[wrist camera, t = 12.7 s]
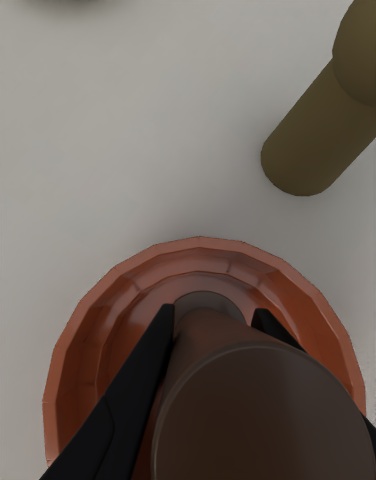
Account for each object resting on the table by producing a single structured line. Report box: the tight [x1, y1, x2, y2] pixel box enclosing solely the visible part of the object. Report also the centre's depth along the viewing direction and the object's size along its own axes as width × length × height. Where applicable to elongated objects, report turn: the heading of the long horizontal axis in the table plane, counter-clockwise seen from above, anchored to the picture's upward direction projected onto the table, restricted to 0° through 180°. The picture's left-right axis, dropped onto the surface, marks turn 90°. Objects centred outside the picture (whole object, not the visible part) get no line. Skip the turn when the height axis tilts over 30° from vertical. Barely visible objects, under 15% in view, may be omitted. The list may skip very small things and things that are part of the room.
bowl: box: [42, 236, 366, 468], centre depth 13 cm, size 14×14×5 cm
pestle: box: [150, 291, 376, 480], centre depth 9 cm, size 4×4×12 cm
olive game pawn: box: [261, 0, 376, 196], centre depth 14 cm, size 6×6×11 cm
